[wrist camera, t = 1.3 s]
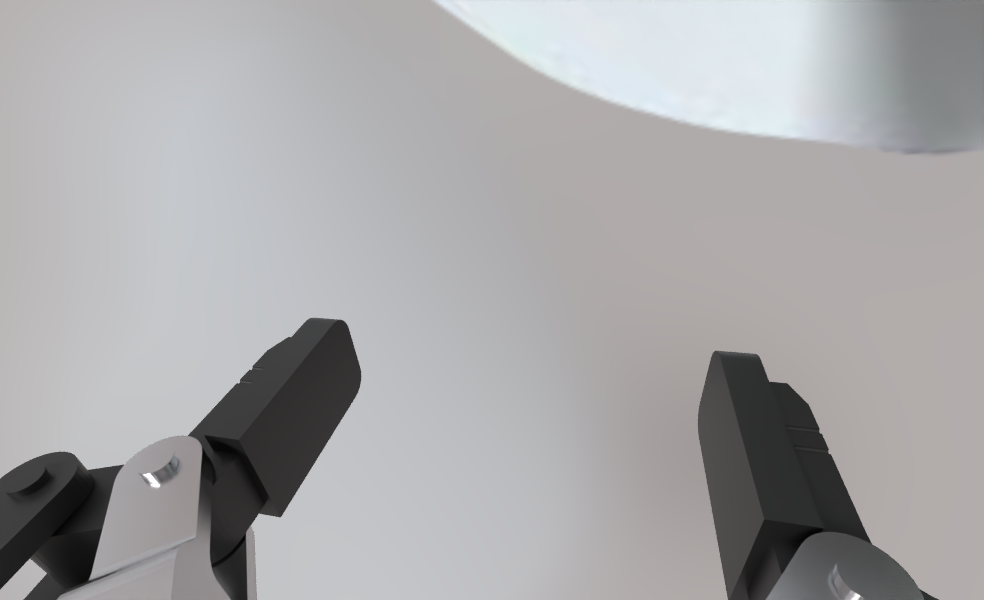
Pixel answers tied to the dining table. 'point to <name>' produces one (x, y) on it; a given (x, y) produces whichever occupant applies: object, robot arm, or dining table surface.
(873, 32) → the dining table surface
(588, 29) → the dining table surface
